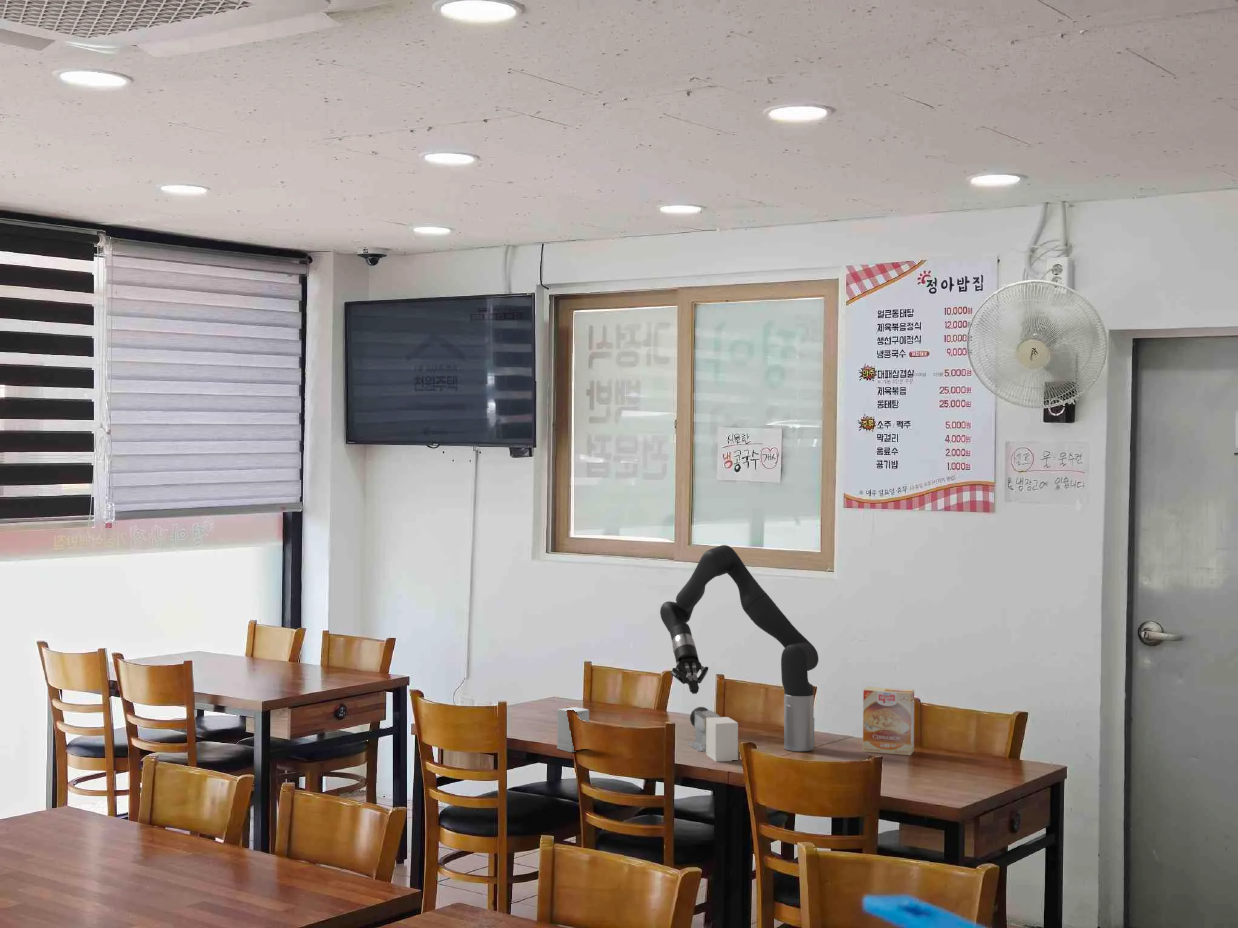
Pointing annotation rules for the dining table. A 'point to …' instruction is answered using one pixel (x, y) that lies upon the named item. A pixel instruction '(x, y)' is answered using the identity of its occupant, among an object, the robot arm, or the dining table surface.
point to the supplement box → (567, 727)
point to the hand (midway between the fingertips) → (695, 692)
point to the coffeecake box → (888, 720)
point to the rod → (692, 716)
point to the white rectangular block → (721, 739)
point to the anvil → (701, 729)
